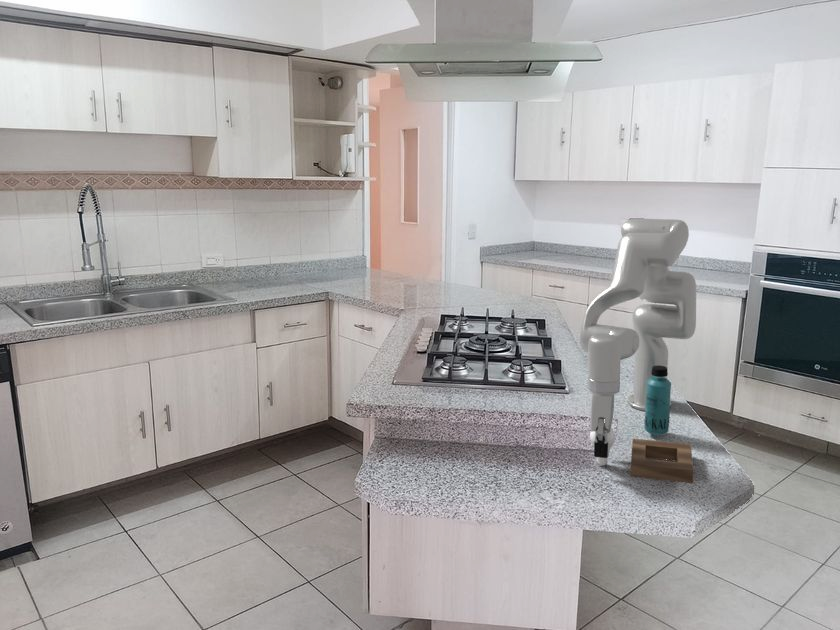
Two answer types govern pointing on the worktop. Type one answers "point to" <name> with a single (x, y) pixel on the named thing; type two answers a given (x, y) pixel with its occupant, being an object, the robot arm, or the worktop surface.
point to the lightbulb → (610, 442)
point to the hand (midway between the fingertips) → (602, 448)
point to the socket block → (659, 468)
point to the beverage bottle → (658, 402)
